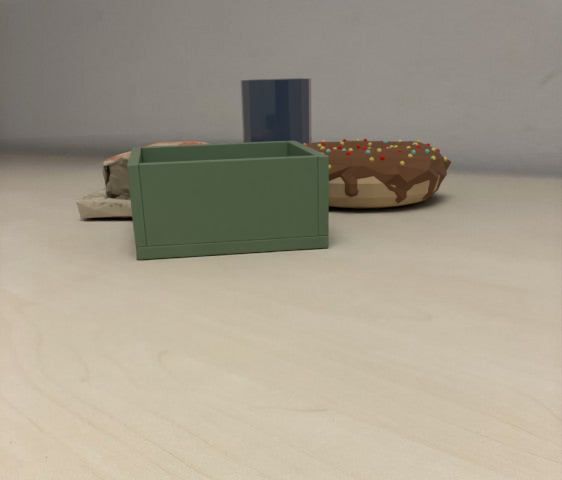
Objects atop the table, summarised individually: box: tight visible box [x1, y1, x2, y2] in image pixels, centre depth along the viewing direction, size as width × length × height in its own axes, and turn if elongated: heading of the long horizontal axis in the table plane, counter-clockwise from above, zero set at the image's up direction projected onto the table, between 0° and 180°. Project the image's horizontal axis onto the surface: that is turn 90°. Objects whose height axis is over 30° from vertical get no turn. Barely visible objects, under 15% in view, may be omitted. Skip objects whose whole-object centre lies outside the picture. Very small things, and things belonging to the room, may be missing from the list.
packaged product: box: [75, 140, 209, 219], centre depth 63 cm, size 18×5×10 cm
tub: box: [127, 141, 330, 260], centre depth 49 cm, size 12×11×6 cm
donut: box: [303, 137, 452, 209], centre depth 61 cm, size 14×14×5 cm
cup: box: [240, 77, 313, 144], centre depth 73 cm, size 7×7×10 cm
